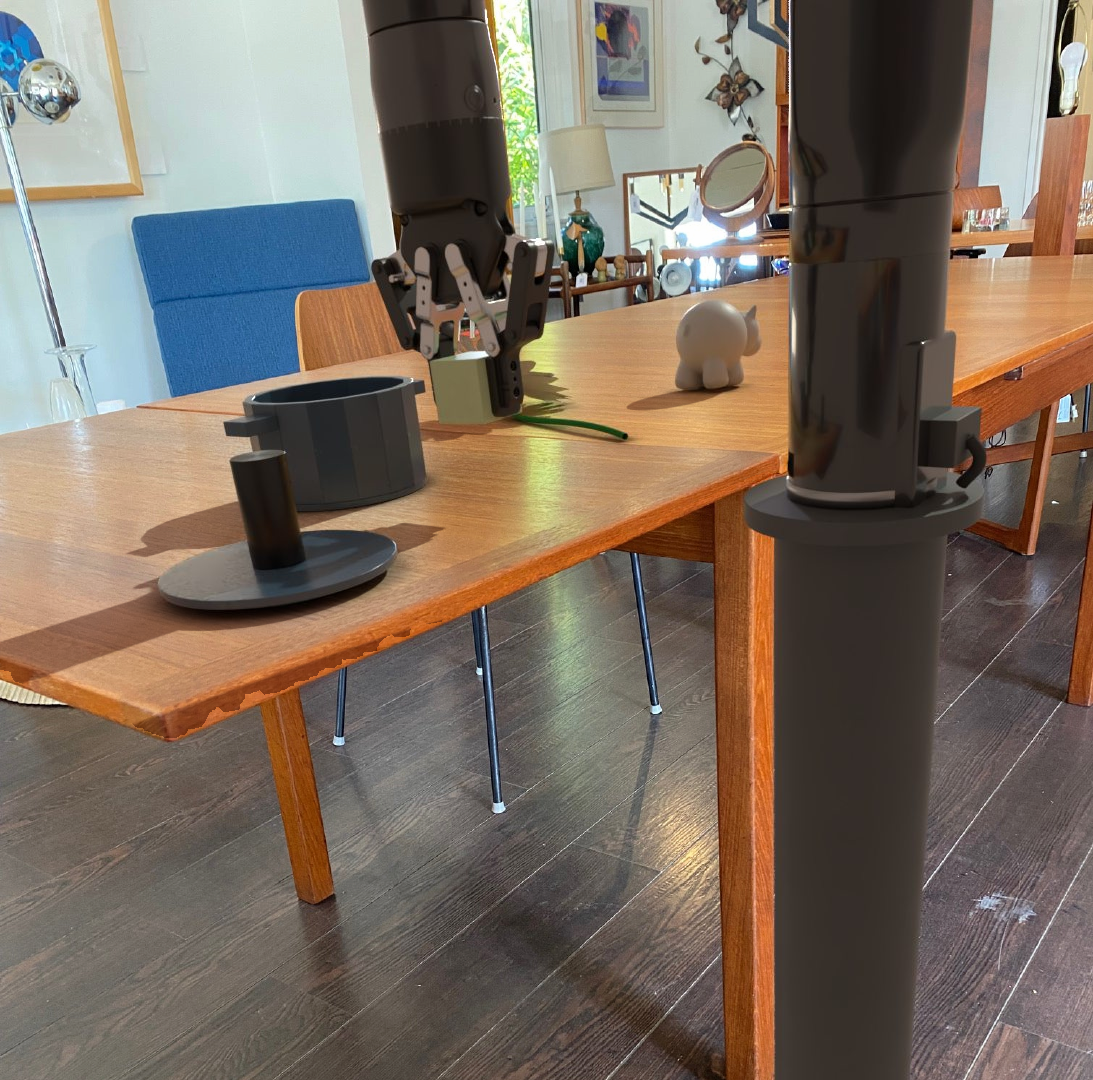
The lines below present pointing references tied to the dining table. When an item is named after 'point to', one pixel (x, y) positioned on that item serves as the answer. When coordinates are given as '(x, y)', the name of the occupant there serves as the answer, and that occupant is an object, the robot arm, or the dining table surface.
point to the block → (462, 389)
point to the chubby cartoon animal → (715, 344)
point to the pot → (340, 438)
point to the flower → (541, 392)
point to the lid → (274, 550)
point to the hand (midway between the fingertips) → (479, 413)
